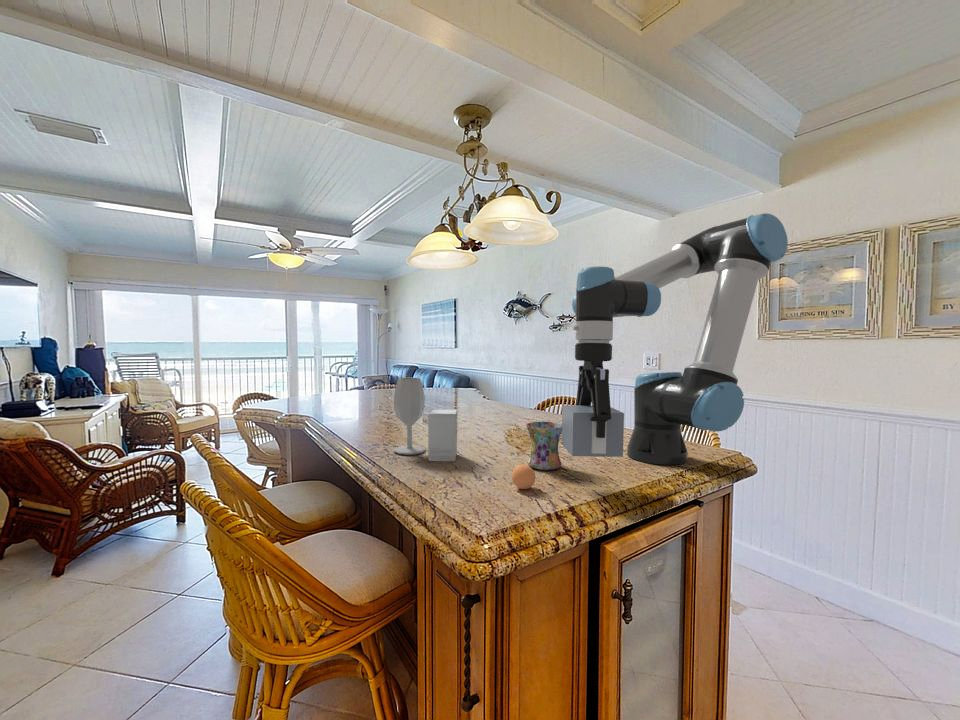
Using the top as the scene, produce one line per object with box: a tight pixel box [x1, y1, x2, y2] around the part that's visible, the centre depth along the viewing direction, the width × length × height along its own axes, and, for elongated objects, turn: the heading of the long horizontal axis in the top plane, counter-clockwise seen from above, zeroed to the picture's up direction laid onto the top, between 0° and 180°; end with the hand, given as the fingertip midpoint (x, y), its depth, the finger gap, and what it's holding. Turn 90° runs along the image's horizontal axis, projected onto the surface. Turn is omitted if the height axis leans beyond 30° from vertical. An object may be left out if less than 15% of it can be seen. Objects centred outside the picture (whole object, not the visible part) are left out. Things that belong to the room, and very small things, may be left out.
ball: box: [511, 464, 536, 490], centre depth 89 cm, size 5×5×5 cm
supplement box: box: [427, 409, 458, 462], centre depth 112 cm, size 7×7×13 cm
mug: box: [525, 420, 562, 471], centre depth 106 cm, size 12×9×11 cm
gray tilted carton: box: [561, 404, 625, 458], centre depth 88 cm, size 10×10×9 cm
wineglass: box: [392, 376, 427, 456], centre depth 118 cm, size 9×9×21 cm
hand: (590, 446), depth 89 cm, fingers closed on gray tilted carton, 10 cm apart
